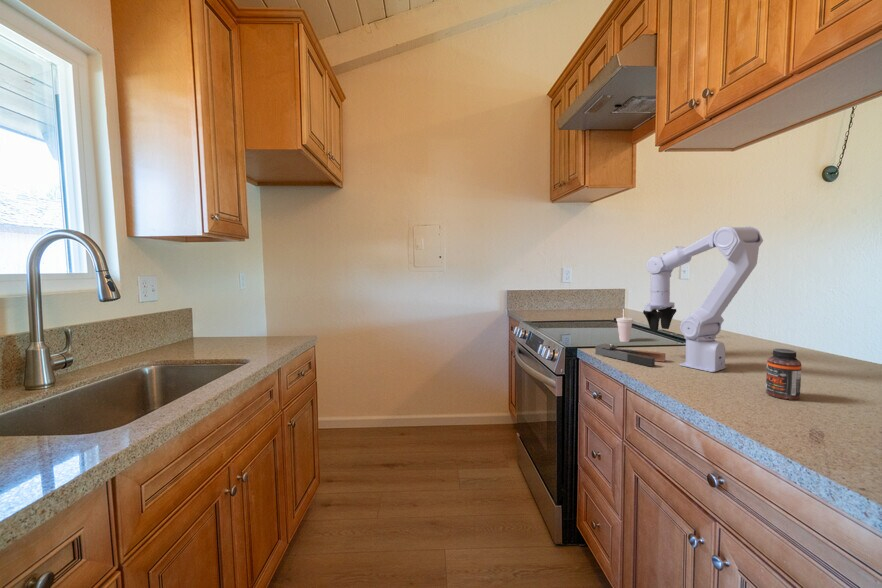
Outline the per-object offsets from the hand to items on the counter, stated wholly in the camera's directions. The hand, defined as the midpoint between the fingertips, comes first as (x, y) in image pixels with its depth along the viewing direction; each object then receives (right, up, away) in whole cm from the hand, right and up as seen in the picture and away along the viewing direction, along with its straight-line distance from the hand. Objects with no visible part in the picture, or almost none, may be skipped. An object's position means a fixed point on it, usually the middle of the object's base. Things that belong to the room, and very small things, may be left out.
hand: (659, 329), depth 122 cm
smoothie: (+1, -8, +26) cm, 27 cm away
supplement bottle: (+5, -12, -38) cm, 41 cm away
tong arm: (-9, -10, -1) cm, 13 cm away
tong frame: (-13, -10, -2) cm, 17 cm away
